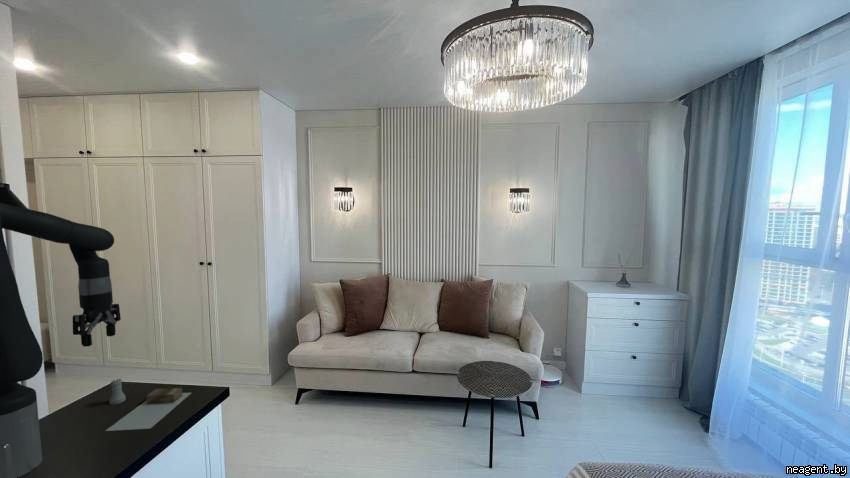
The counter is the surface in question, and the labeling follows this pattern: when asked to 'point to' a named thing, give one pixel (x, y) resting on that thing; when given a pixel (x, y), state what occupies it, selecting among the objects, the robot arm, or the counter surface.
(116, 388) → the rook chess piece
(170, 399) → the brown rectangular block
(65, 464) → the counter surface
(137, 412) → the grey mat
